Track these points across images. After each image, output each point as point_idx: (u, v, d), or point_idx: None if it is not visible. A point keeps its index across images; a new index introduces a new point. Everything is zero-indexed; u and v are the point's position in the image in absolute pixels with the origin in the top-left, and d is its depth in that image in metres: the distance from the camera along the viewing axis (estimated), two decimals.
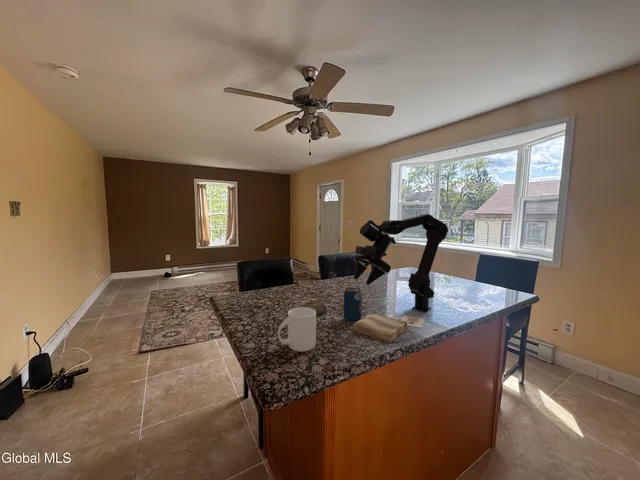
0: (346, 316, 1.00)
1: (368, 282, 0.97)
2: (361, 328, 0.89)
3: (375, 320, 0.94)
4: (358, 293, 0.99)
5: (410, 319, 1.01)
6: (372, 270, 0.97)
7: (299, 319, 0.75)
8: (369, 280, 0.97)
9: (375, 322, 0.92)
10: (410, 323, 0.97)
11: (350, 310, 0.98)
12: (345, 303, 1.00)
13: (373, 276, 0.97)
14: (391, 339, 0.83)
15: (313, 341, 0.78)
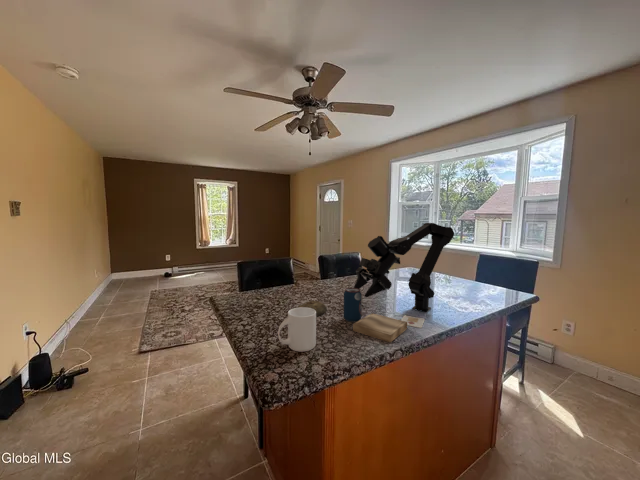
0: (346, 316, 1.00)
1: (367, 295, 0.98)
2: (361, 328, 0.89)
3: (375, 320, 0.94)
4: (358, 293, 0.99)
5: (410, 319, 1.01)
6: (373, 284, 0.98)
7: (299, 319, 0.75)
8: (368, 293, 0.98)
9: (375, 322, 0.92)
10: (410, 323, 0.97)
11: (350, 310, 0.98)
12: (345, 303, 1.00)
13: (373, 290, 0.98)
14: (391, 339, 0.83)
15: (313, 341, 0.78)
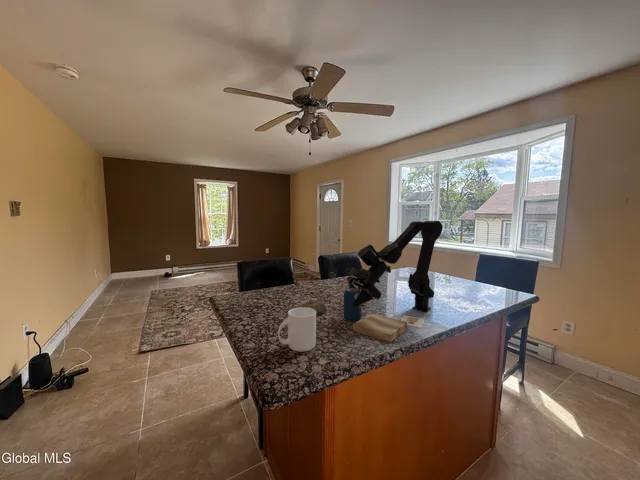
0: (346, 316, 1.00)
1: (355, 304, 0.97)
2: (361, 328, 0.89)
3: (375, 320, 0.94)
4: (358, 293, 0.99)
5: (410, 319, 1.01)
6: (361, 293, 0.97)
7: (299, 319, 0.75)
8: (356, 302, 0.97)
9: (375, 322, 0.92)
10: (410, 323, 0.97)
11: (350, 310, 0.98)
12: (345, 303, 1.00)
13: (361, 299, 0.97)
14: (391, 339, 0.83)
15: (313, 341, 0.78)
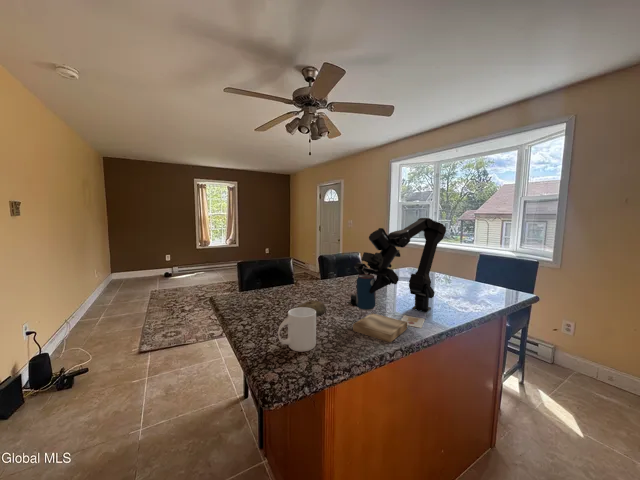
0: (361, 304, 0.93)
1: (371, 291, 0.92)
2: (361, 328, 0.89)
3: (375, 320, 0.94)
4: (373, 279, 0.94)
5: (410, 319, 1.01)
6: (377, 278, 0.92)
7: (299, 319, 0.75)
8: (373, 289, 0.92)
9: (375, 322, 0.92)
10: (410, 323, 0.97)
11: (366, 297, 0.92)
12: (360, 291, 0.93)
13: (377, 285, 0.92)
14: (391, 339, 0.83)
15: (313, 341, 0.78)
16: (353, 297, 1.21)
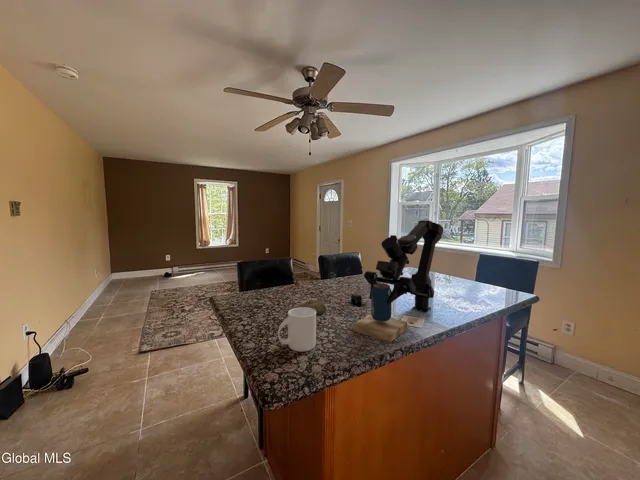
0: (379, 316, 0.89)
1: (390, 301, 0.88)
2: (361, 328, 0.89)
3: (375, 320, 0.94)
4: (390, 289, 0.90)
5: (410, 319, 1.01)
6: (395, 288, 0.89)
7: (299, 319, 0.75)
8: (391, 299, 0.88)
9: (375, 322, 0.92)
10: (410, 323, 0.97)
11: (383, 308, 0.88)
12: (377, 301, 0.89)
13: (395, 295, 0.89)
14: (391, 339, 0.83)
15: (313, 341, 0.78)
16: (354, 297, 1.21)
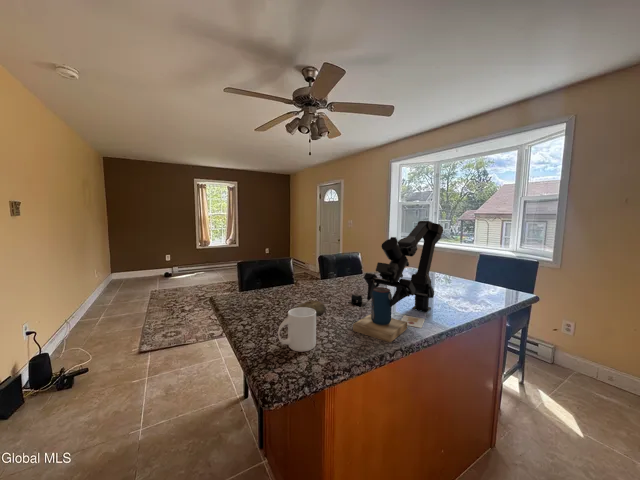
0: (379, 320, 0.89)
1: (392, 304, 0.87)
2: (361, 328, 0.89)
3: None
4: (390, 292, 0.90)
5: (410, 319, 1.01)
6: (397, 290, 0.88)
7: (299, 319, 0.75)
8: (393, 301, 0.87)
9: None
10: (410, 323, 0.97)
11: (384, 312, 0.88)
12: (377, 305, 0.89)
13: (397, 297, 0.88)
14: (391, 339, 0.83)
15: (313, 341, 0.78)
16: (354, 297, 1.21)
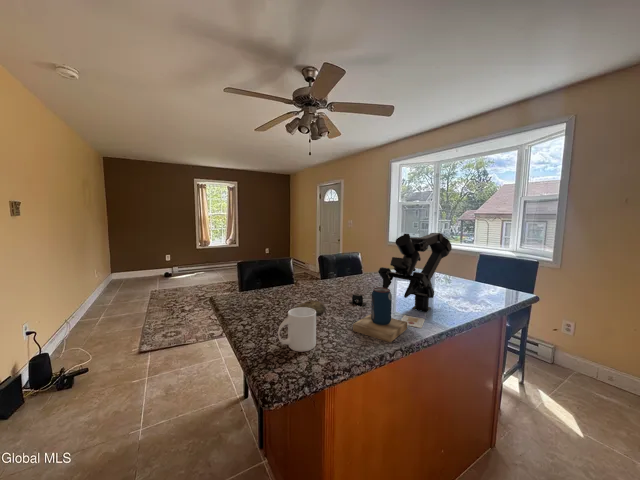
0: (379, 320, 0.89)
1: (406, 295, 0.94)
2: (361, 328, 0.89)
3: None
4: (390, 292, 0.90)
5: (410, 319, 1.01)
6: (411, 283, 0.95)
7: (299, 319, 0.75)
8: (407, 293, 0.94)
9: None
10: (410, 323, 0.97)
11: (384, 312, 0.88)
12: (377, 305, 0.89)
13: (411, 289, 0.95)
14: (391, 339, 0.83)
15: (313, 341, 0.78)
16: (355, 297, 1.22)
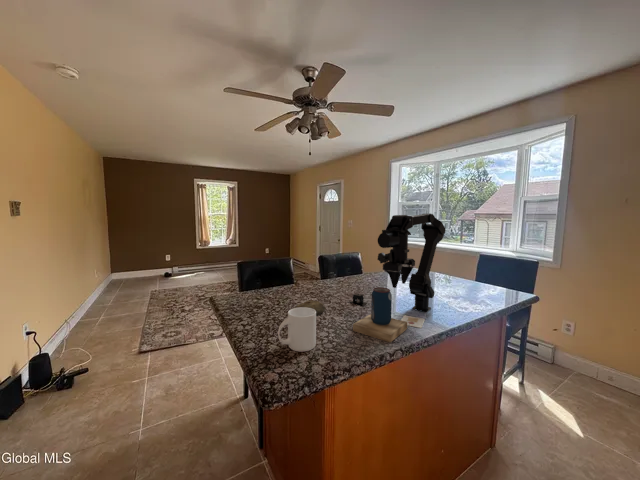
0: (379, 320, 0.89)
1: (393, 285, 1.00)
2: (361, 328, 0.89)
3: None
4: (390, 292, 0.90)
5: (410, 319, 1.01)
6: None
7: (299, 319, 0.75)
8: (393, 283, 1.00)
9: None
10: (410, 323, 0.97)
11: (384, 312, 0.88)
12: (377, 305, 0.89)
13: (393, 278, 0.99)
14: (391, 339, 0.83)
15: (313, 341, 0.78)
16: (356, 296, 1.22)
